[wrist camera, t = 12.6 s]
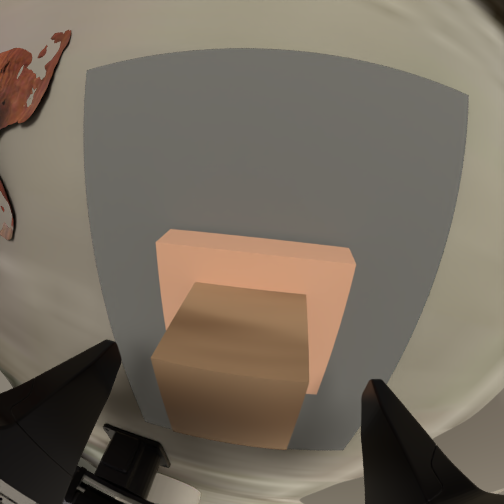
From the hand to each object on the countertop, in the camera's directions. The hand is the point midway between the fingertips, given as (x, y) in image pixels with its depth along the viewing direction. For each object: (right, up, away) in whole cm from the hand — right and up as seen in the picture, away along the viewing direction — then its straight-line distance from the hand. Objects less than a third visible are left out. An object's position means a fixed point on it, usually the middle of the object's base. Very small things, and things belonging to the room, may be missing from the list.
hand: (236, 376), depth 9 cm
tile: (0, -2, +4) cm, 5 cm away
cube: (0, +1, +2) cm, 2 cm away
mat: (+1, 0, +5) cm, 5 cm away
